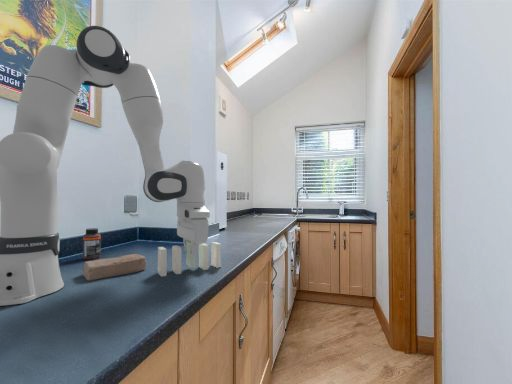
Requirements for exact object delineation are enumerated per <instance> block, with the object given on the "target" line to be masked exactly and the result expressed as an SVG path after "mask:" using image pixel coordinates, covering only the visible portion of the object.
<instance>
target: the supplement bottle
mask: <svg viewBox="0 0 512 384" xmlns="http://www.w3.org/2000/svg"><path fill="white" fill-rule="evenodd" d="M101 247H102V235H101V234H100V233H99V229H98V227H92V228H86V229H85V234H83V236H82V259H83V260H97V259H100V257H101V256H102V255H101V254H102V249H101Z"/></svg>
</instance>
